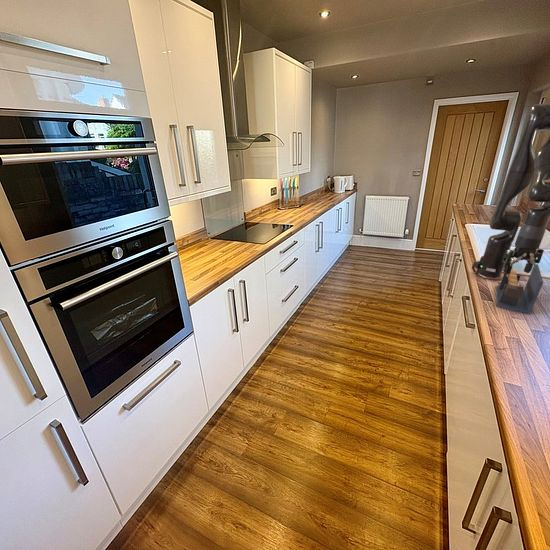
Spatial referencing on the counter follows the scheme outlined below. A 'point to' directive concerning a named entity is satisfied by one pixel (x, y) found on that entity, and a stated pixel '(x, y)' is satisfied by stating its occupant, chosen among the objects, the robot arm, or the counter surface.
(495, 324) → the counter surface
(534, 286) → the rack
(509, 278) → the brush
